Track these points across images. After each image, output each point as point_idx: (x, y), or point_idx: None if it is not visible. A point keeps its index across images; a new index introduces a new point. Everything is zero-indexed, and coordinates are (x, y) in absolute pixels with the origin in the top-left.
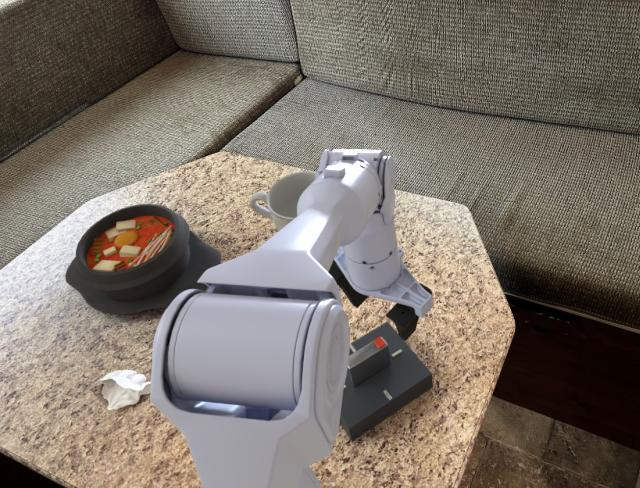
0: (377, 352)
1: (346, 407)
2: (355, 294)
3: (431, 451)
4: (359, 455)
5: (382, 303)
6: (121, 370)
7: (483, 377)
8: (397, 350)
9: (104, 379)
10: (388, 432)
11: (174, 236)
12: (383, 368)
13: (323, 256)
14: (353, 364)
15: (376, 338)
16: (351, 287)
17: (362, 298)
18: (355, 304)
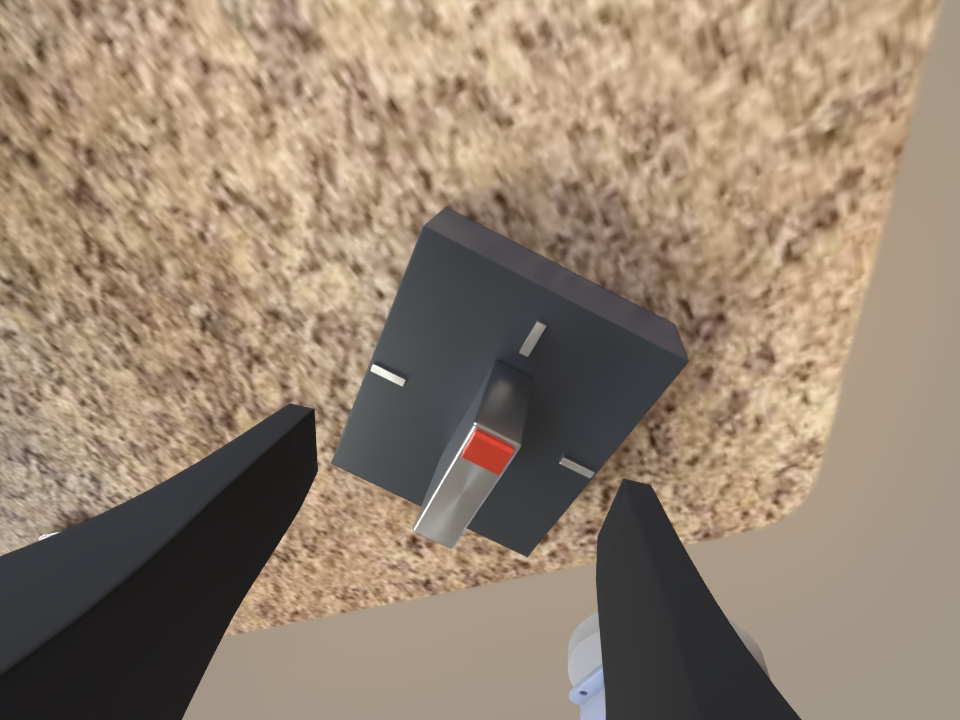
0: (500, 477)
1: (489, 519)
2: (260, 543)
3: (732, 479)
4: (564, 526)
5: (338, 81)
6: (45, 537)
7: (855, 220)
8: (527, 325)
9: None
10: (603, 471)
11: None
12: None
13: None
14: (453, 537)
15: (433, 312)
16: (208, 626)
17: (300, 460)
18: (300, 504)
